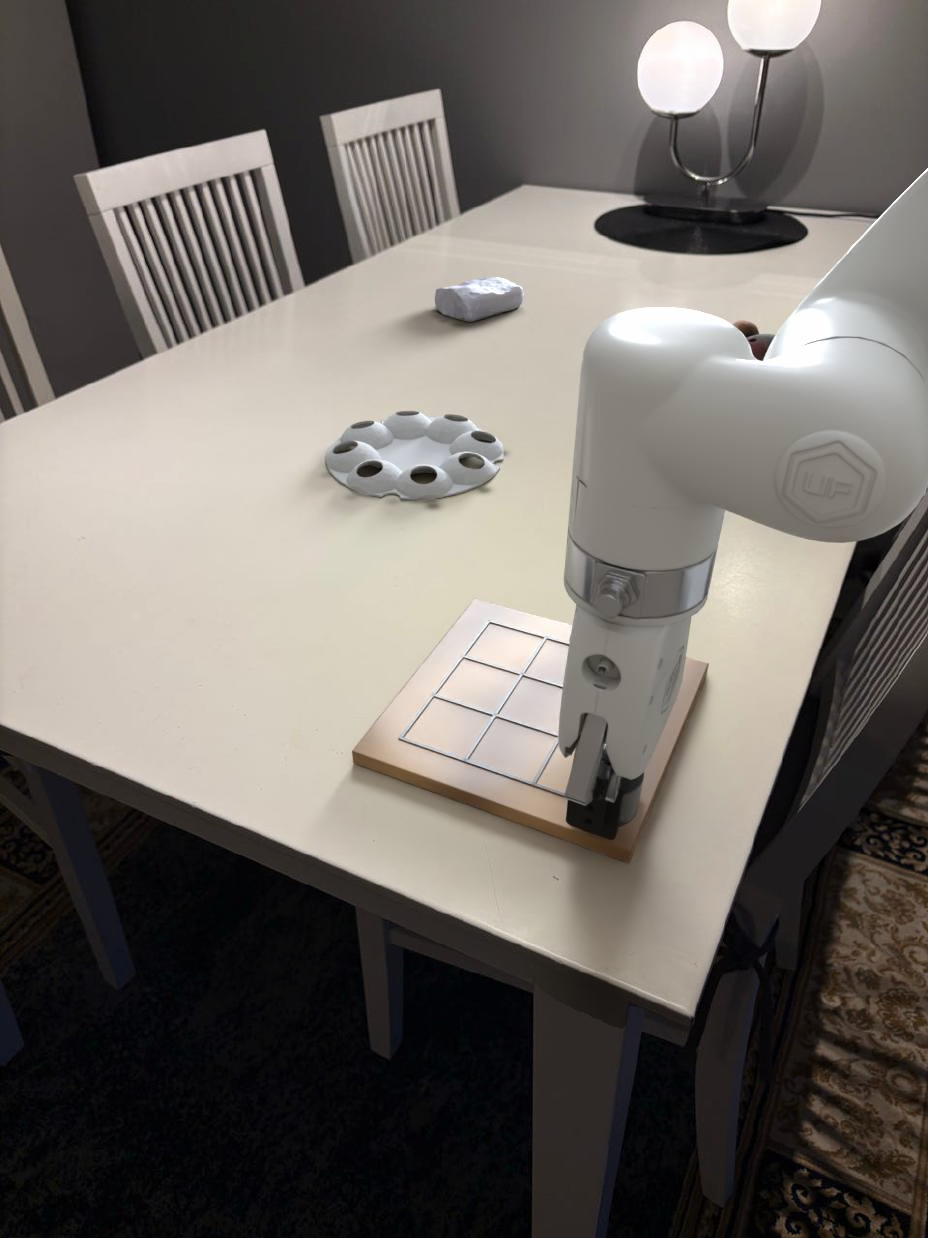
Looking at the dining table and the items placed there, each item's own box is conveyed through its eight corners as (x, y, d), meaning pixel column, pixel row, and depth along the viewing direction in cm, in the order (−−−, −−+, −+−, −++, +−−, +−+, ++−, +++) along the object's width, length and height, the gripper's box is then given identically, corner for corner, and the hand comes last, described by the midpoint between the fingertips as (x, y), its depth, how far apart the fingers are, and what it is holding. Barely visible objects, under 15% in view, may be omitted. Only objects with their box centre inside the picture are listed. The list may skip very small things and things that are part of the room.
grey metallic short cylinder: (647, 790, 59) (652, 757, 57) (626, 838, 56) (631, 805, 54) (582, 768, 60) (586, 735, 59) (559, 814, 57) (562, 781, 55)
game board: (706, 674, 71) (709, 661, 70) (629, 864, 56) (631, 850, 56) (474, 609, 78) (474, 596, 77) (352, 763, 63) (351, 749, 63)
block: (429, 320, 141) (471, 323, 134) (425, 287, 139) (467, 289, 131) (486, 306, 147) (529, 309, 140) (483, 275, 145) (526, 275, 138)
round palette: (329, 507, 92) (327, 489, 90) (323, 424, 107) (322, 408, 106) (519, 492, 94) (520, 474, 93) (487, 413, 109) (487, 397, 108)
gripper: (664, 678, 40) (620, 927, 51) (745, 503, 52) (696, 734, 63) (506, 632, 42) (497, 878, 53) (619, 475, 54) (592, 702, 65)
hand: (605, 798), depth 58 cm, fingers closed on grey metallic short cylinder, 4 cm apart
